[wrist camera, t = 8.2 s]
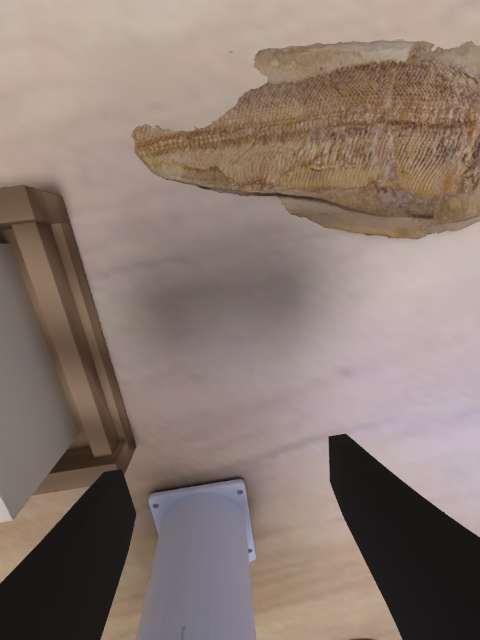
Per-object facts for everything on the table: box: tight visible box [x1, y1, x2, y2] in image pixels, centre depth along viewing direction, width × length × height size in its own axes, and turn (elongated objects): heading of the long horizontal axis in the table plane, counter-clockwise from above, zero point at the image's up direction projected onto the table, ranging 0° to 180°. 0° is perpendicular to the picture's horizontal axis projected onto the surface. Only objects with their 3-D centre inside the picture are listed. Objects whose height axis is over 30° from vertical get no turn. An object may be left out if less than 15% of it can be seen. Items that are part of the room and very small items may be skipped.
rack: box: [0, 185, 136, 495], centre depth 16 cm, size 18×10×3 cm, turn 7°
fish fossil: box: [131, 39, 480, 239], centre depth 15 cm, size 26×10×1 cm, turn 93°
